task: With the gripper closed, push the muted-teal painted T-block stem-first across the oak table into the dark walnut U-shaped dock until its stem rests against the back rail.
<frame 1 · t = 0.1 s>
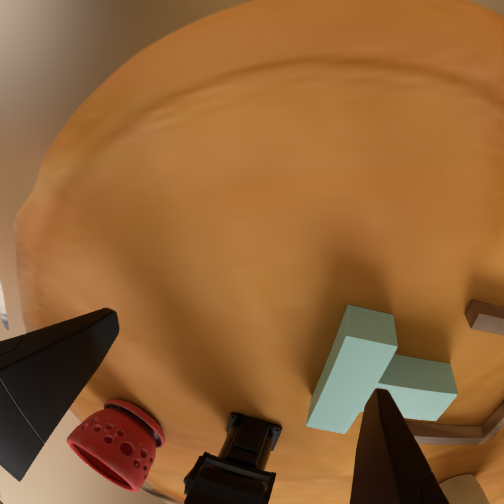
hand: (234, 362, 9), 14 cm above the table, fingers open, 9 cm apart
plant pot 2: (136, 416, 43), on the table
dock: (477, 382, 23), on the table
plant pot: (455, 481, 31), on the table
tee: (348, 361, 26), on the table
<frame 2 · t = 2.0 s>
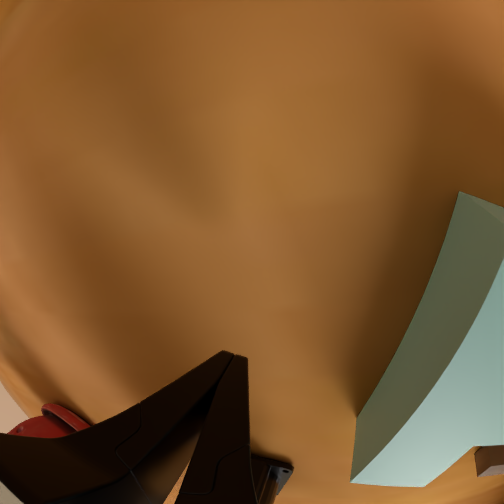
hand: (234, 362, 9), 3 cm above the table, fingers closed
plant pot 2: (84, 429, 27), on the table
tee: (444, 341, 11), on the table
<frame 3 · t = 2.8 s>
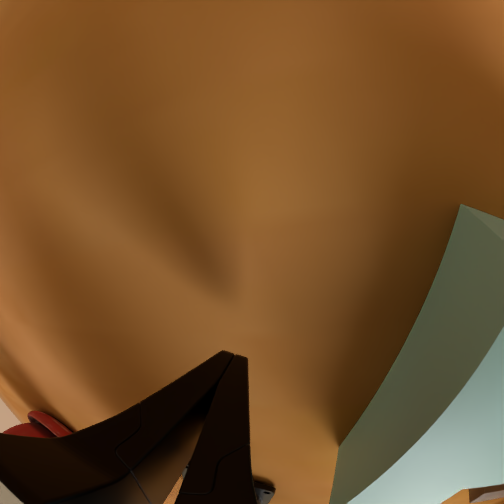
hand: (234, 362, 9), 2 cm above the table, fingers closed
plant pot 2: (70, 437, 26), on the table
tee: (437, 374, 9), on the table
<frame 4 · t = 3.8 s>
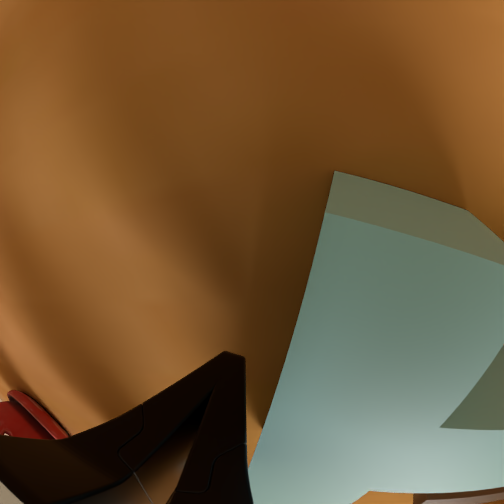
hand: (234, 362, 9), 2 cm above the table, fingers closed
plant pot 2: (46, 417, 27), on the table
tee: (345, 358, 10), on the table, touching gripper
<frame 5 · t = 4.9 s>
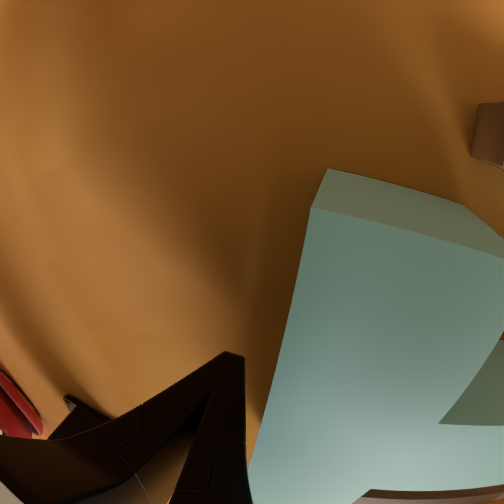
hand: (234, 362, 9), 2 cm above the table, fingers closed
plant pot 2: (17, 393, 28), on the table
tee: (344, 356, 10), on the table, touching gripper
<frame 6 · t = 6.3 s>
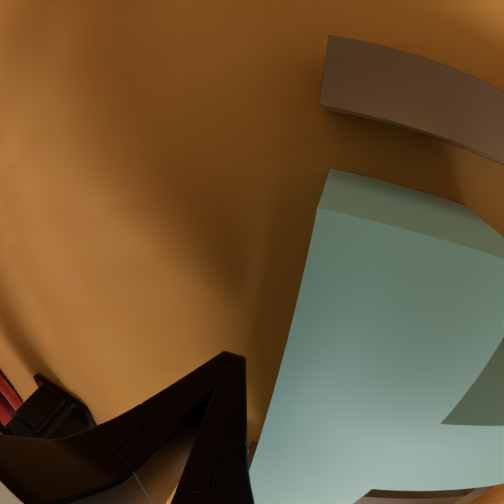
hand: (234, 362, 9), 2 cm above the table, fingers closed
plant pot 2: (3, 381, 29), on the table
dock: (444, 376, 9), on the table
tee: (345, 357, 10), on the table, touching gripper
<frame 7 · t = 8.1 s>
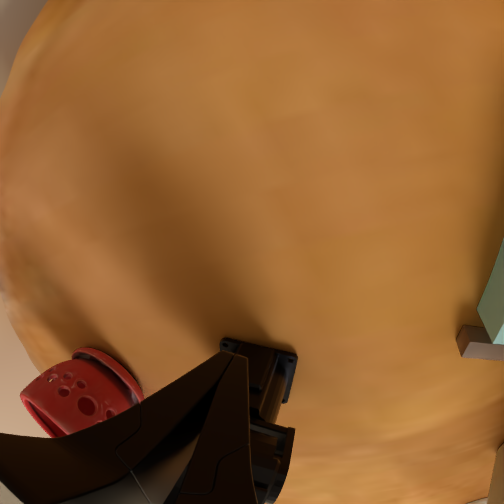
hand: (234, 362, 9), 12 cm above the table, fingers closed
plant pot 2: (111, 374, 35), on the table
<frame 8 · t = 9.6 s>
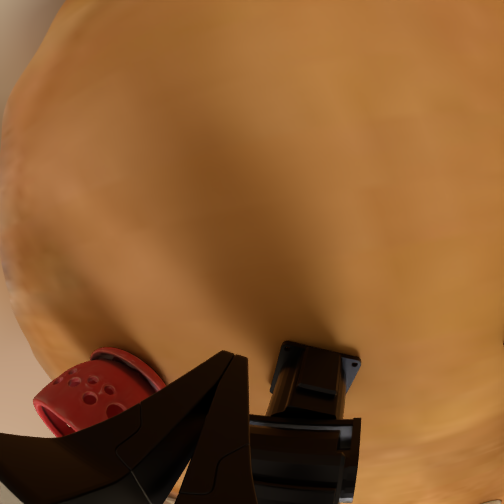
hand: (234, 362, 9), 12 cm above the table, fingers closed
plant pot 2: (134, 376, 33), on the table
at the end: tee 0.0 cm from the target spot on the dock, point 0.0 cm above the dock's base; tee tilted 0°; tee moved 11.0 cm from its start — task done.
